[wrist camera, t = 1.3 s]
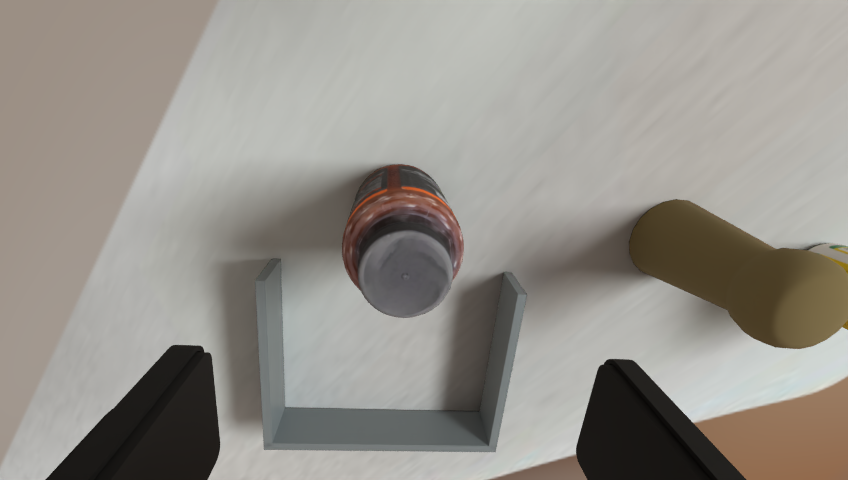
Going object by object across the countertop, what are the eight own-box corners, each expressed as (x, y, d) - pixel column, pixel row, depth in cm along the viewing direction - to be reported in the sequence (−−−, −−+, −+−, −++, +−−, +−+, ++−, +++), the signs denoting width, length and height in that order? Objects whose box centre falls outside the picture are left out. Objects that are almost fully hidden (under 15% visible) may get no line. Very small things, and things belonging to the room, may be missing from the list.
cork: (623, 278, 30) (746, 373, 19) (635, 201, 28) (778, 261, 17) (699, 273, 30) (860, 363, 20) (716, 196, 28) (904, 252, 18)
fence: (271, 258, 27) (255, 280, 24) (511, 272, 29) (526, 294, 26) (277, 413, 32) (263, 449, 28) (485, 417, 33) (495, 452, 30)
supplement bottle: (345, 234, 27) (314, 320, 16) (369, 150, 25) (351, 186, 15) (427, 257, 28) (448, 352, 17) (455, 178, 26) (497, 230, 16)
